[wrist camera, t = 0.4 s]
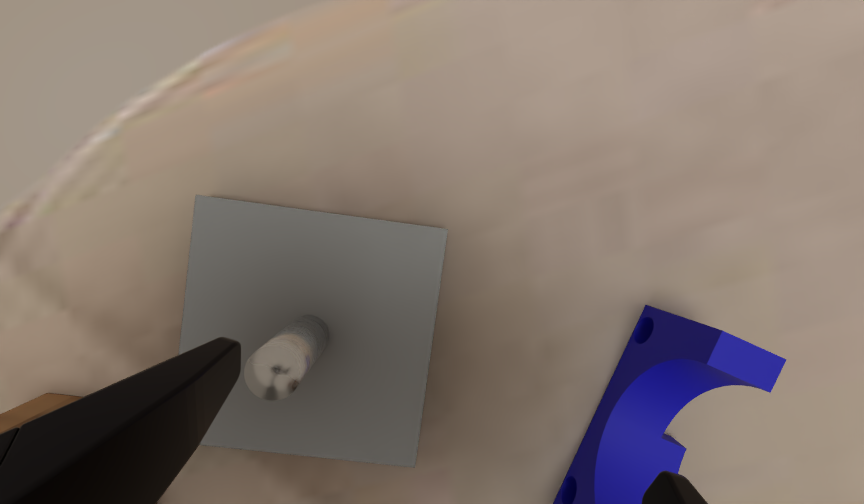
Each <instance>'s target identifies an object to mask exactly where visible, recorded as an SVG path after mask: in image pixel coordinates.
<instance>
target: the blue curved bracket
mask: <svg viewBox="0 0 864 504" xmlns="http://www.w3.org/2000/svg"><path fill="white" fill-rule="evenodd" d="M785 361H786V359H784V358H782V357H779V356H777V355H775V354H773V353H771V352H768V351H766V350H764V349H762V348H760V347H757V346H755V345H753V344H751V343H749V342H746V341H744V340H742V339H740V338H737V337H735V336H733V335H731V334H729V333H726V332H724V331H722V330H719V329H716V328H713V327H710V326H707V325H704V324H701V323H698V322H695V321H692V320H689V319H686V318H683V317H680V316H677V315H674V314H671V313H668V312H665V311H662V310H659V309H656V308H653V307H651V306H648V305H645V307H644V310H643V312H642V314H641V316H640V318H639V320H638V322H637V325H636V327H635V329H634V331H633V333H632V335H631V337H630V340H629V342H628V344H627V346H626V348H625V350H624V352H623V355H622V357H621V359H620V361H619V363H618V365H617V367H616V370H615V372H614V374H613V376H612V378H611V380H610V382H609V385H608V387H607V389H606V391H605V393H604V395H603V397H602V400H601V402H600V404H599V406H598V408H597V410H596V412H595V415H594V417H593V419H592V421H591V423H590V425H589V427H588V430H587V432H586V434H585V436H584V438H583V440H582V442H581V445H580V447H579V449H578V451H577V453H576V455H575V457H574V460H573V462H572V464H571V466H570V468H569V470H568V472H567V475H566V477H565V479H564V481H563V483H562V485H561V487H560V490H559V492H558V494H557V496H556V498H555V500H554V502H553V504H642V498H643V495H644V493H645V491H646V490H647V489H648V487H649V486H650V485H651V483H652V482H653V481H654V479H655V478H656V477H657V475H658V474H659V473H660V472H662V471H669V472H673V473H676V474H678V471H679V468H680V464H681V461H682V459H683V456H684V453H685V451H686V448H685V447H684V446H682V445H681V444H680V443H679V442H677V441H676V440H675V439H674V438H672V437H671V436H669V435H666V434H664V432H665V430H666V428H667V426H668V425H669V423H670V422H671V421H672V419H673V418H674V417H675V415H676V414H677V413H678V412H679V411H680V410H681V409H682V408H683V407H684V406H685V405H686V404H687V403H688V402H690V401H691V400H692V399H694V398H695V397H697V396H698V395H700V394H702V393H704V392H706V391H709V390H711V389H714V388H718V387H722V386H729V385H745V386H752V387H755V388H759V389H762V390H765V391H767V392H771V390H772V388H773V386H774V384H775V382H776V380H777V378H778V376H779V374H780V372H781V370H782V368H783V366H784V363H785Z"/></svg>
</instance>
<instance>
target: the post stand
mask: <svg viewBox="0 0 864 504" xmlns="http://www.w3.org/2000/svg"><path fill="white" fill-rule="evenodd" d="M447 232H448V229H443V228H436V227H429V226H421V225H414V224H407V223H399V222H392V221H385V220H377V219H370V218H363V217H355V216H348V215H341V214H333V213H326V212H319V211H311V210H304V209H297V208H289V207H282V206H275V205H267V204H260V203H253V202H245V201H238V200H231V199H224V198H216V197H209V196H202V195H196V196H195V206H194V215H193V224H192V234H191V243H190V252H189V262H188V271H187V280H186V290H185V299H184V308H183V318H182V327H181V336H180V345H179V355H180V354H182V353H184V352H187V351H189V350H191V349H193V348H196V347H198V346H200V345H202V344H205V343H207V342H209V341H211V340H214V339H216V338H218V337H226V338H230V339H233V340H236V341H238V342H240V344H241V372H240V375H239V378H238V380H237V382H236V384H235V385H234V387H233V389H232V390H231V392H230V394H229V395H228V397H227V399H226V400H225V402H224V404H223V406H222V407H221V409H220V411H219V412H218V414H217V416H216V417H215V419H214V421H213V422H212V424H211V426H210V428H209V429H208V431H207V433H206V434H205V436H204V438H203V439H202V441H201V442H200V444H199V445H205V446H215V447H224V448H234V449H243V450H253V451H262V452H271V453H281V454H290V455H300V456H309V457H319V458H328V459H338V460H347V461H356V462H366V463H375V464H385V465H394V466H404V467H413V468H415V464H416V457H417V450H418V443H419V435H420V428H421V421H422V414H423V406H424V399H425V392H426V384H427V377H428V370H429V363H430V355H431V348H432V341H433V334H434V326H435V319H436V312H437V305H438V297H439V290H440V283H441V276H442V268H443V261H444V254H445V246H446V239H447Z"/></svg>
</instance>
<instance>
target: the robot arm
mask: <svg viewBox="0 0 864 504" xmlns="http://www.w3.org/2000/svg"><path fill="white" fill-rule="evenodd" d="M240 372H241V344H240V342H238V341H236V340H233V339H230V338H226V337H218V338H216V339H214V340H211V341H209V342H207V343H205V344H202V345H200V346H198V347H196V348H193V349H191V350H189V351H187V352H184V353H182V354H180V355H178V356H175V357H173V358H171V359H168V360H166V361H164V362H162V363H159V364H157V365H155V366H153V367H150V368H148V369H146V370H144V371H141V372H139V373H137V374H135V375H132V376H130V377H128V378H126V379H123V380H121V381H119V382H117V383H114V384H112V385H110V386H108V387H105V388H103V389H101V390H99V391H96V392H94V393H92V394H90V395H87V396H85V397H83V398H80V399H78V400H76V401H74V402H71V403H69V404H67V405H65V406H62V407H60V408H58V409H56V410H53V411H51V412H49V413H47V414H44V415H42V416H40V417H38V418H35V419H33V420H31V421H29V422H26V423H24V424H22V425H21V427H20V428H19V427H15V428H12V429H10V430H8V431H6V432H3V433H1V434H0V504H156V503H157V502H158V500H159V499H160V498H161V496H162V495H163V494H164V492H165V491H166V489H167V488H168V487H169V485H170V484H171V483H172V481H173V480H174V479H175V477H176V476H177V475H178V473H179V472H180V470H181V469H182V468H183V466H184V465H185V464H186V462H187V461H188V460H189V458H190V457H191V456H192V454H193V453H194V451H195V450H196V448H197V447H198V446H199V444H200V442H201V441H202V439H203V438H204V436H205V434H206V433H207V431H208V429H209V428H210V426H211V424H212V422H213V421H214V419H215V417H216V416H217V414H218V412H219V411H220V409H221V407H222V406H223V404H224V402H225V400H226V399H227V397H228V395H229V394H230V392H231V390H232V389H233V387H234V385H235V384H236V382H237V380H238V378H239V375H240ZM642 504H708V503H707V502H706V501H705V500H704V498H703V497H702V496H701V495H700V494H699V492H698V491H697V490H696V489H695V488H694V486H693V485H692V484H691V483H690V482H689V480H688V479H687V478H685V477H684V476H682V475H679V474H676V473H673V472H669V471H662V472H660V473H659V474H658V475H657V477H656V478H655V479H654V481H653V482H652V483H651V485H650V486H649V487H648V489H647V490H646V491H645V493H644V495H643V498H642Z"/></svg>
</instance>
